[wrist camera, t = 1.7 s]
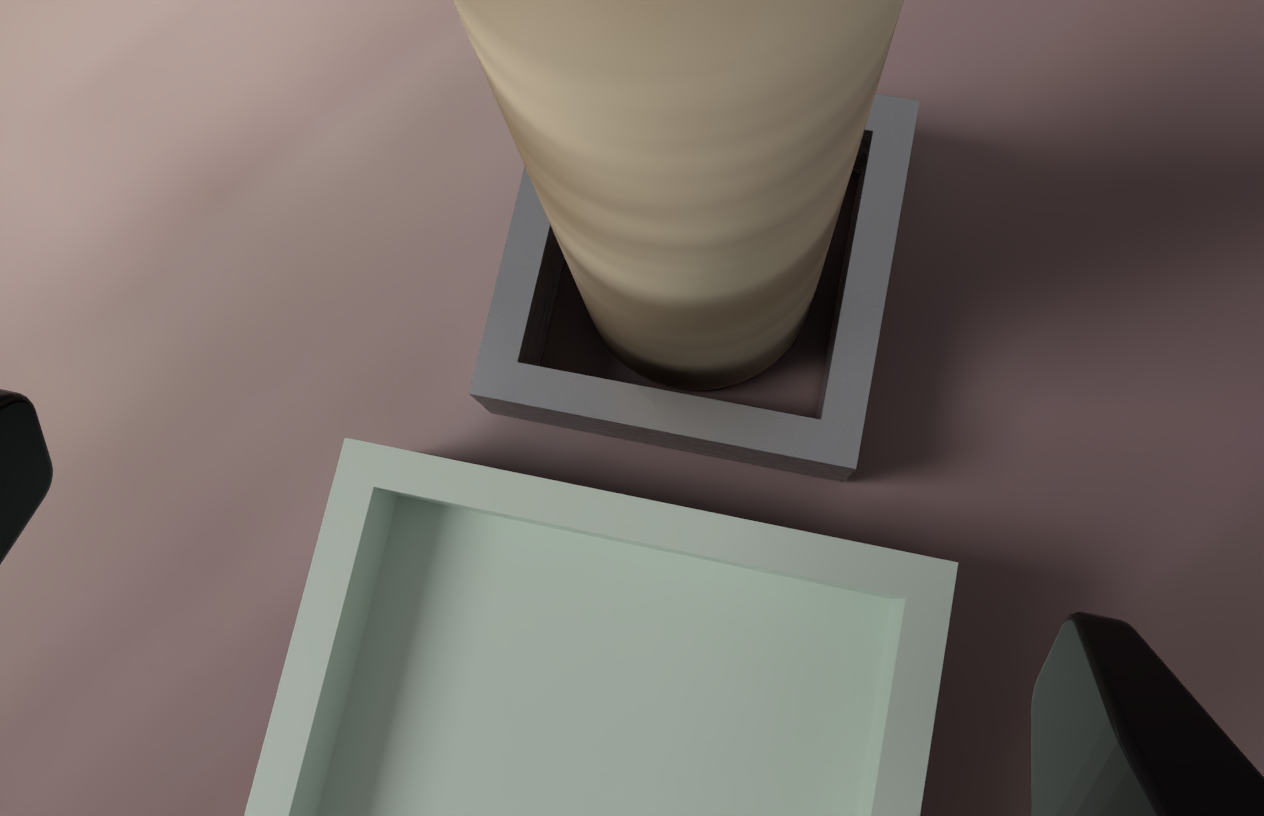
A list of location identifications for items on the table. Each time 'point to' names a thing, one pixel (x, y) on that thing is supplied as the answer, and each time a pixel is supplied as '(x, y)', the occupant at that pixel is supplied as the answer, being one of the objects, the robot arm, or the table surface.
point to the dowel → (688, 160)
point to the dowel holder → (694, 422)
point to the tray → (594, 657)
